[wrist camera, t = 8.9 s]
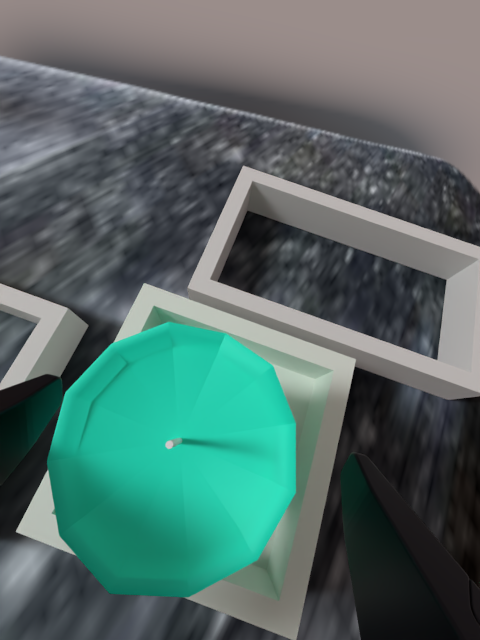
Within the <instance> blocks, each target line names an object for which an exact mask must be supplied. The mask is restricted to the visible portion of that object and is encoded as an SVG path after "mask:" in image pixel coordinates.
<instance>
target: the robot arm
mask: <svg viewBox="0 0 480 640" xmlns="http://www.w3.org/2000/svg"><path fill="white" fill-rule="evenodd" d="M61 402H62V379H61V377H59V376H55V375H51V374H44V375H41V376H39V377H36V378H33V379H30V380H27V381H25V382H22V383H19V384H16V385H13V386H10V387H8V388H5V389H2V390H0V486H1V485H2V484H3V483H4V481H5V480H6V479H7V478H8V477H9V475H10V474H11V473H12V472H13V470H14V469H15V468H16V467H17V466H18V464H19V463H20V462H21V461H22V460H23V458H24V457H25V456H26V454H27V453H28V452H29V451H30V449H31V448H32V446H33V445H34V444H35V442H36V441H37V439H38V438H39V436H40V435H41V433H42V432H43V430H44V429H45V427H46V426H47V424H48V423H49V421H50V420H51V418H52V417H53V415H54V414H55V412H56V411H57V409H58V408H59V406H60V404H61ZM341 495H342V512H343V527H344V536H345V543H346V549H347V555H348V562H349V568H350V574H351V580H352V587H353V593H354V599H355V605H356V612H357V618H358V624H359V630H360V637H361V640H480V589H479V588H478V587H477V585H476V584H475V583H474V582H473V581H472V580H469V576H468V575H467V574H466V573H465V571H464V570H463V569H462V568H461V567H460V565H459V564H458V563H457V562H456V561H455V559H454V558H453V557H452V556H451V555H450V554H449V552H448V551H447V550H446V549H445V548H444V546H443V545H442V544H441V543H440V542H439V541H438V539H437V538H436V537H435V536H434V535H433V533H432V532H431V531H430V530H429V529H428V528H427V526H426V525H425V524H424V523H423V522H422V520H421V519H420V518H419V517H418V516H417V514H416V513H415V512H414V511H413V510H412V509H411V507H410V506H409V505H408V504H407V503H406V501H405V500H404V499H403V498H402V497H401V496H400V494H399V493H398V492H397V491H396V490H395V488H394V487H393V486H392V485H391V484H390V483H389V481H388V480H387V479H386V478H385V477H384V475H383V474H382V473H381V472H380V471H379V469H378V468H377V467H376V466H375V465H374V464H373V462H372V461H371V460H370V459H369V458H368V457H367V456H366V455H364V454H360V453H356V452H352V453H351V454H350V456H349V457H348V459H347V461H346V463H345V465H344V467H343V468H342V471H341Z"/></svg>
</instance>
